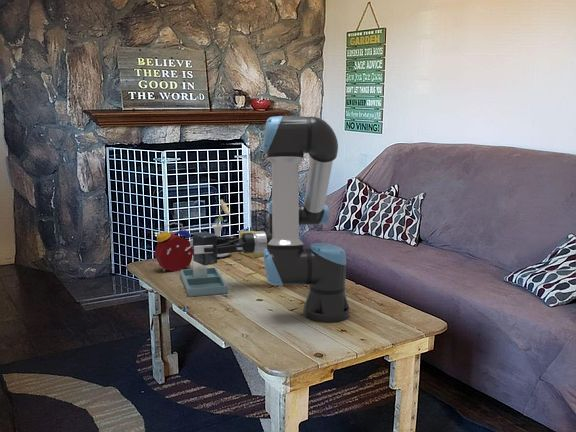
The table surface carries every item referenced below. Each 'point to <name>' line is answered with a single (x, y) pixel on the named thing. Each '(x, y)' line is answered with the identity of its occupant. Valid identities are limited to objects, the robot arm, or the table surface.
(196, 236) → the box
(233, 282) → the table surface
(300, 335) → the table surface
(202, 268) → the jar
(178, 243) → the alarm clock
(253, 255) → the yellow block
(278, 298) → the table surface
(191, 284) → the tray
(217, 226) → the flower in vase
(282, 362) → the table surface
